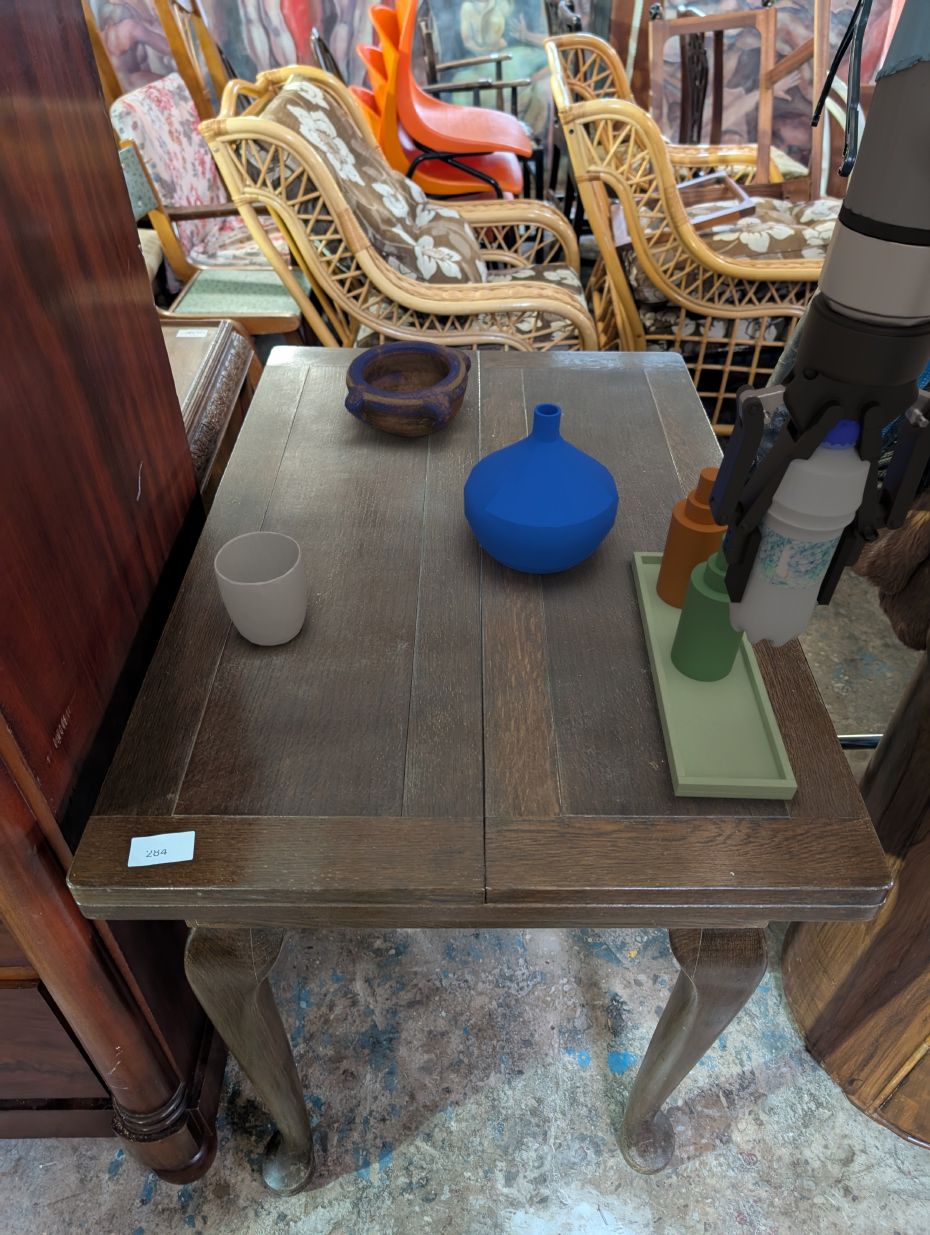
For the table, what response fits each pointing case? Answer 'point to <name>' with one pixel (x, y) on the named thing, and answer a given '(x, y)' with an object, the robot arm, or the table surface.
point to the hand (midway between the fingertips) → (775, 592)
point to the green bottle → (706, 624)
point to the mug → (263, 586)
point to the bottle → (801, 538)
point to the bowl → (407, 386)
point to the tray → (711, 711)
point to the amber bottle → (689, 540)
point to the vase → (540, 500)
